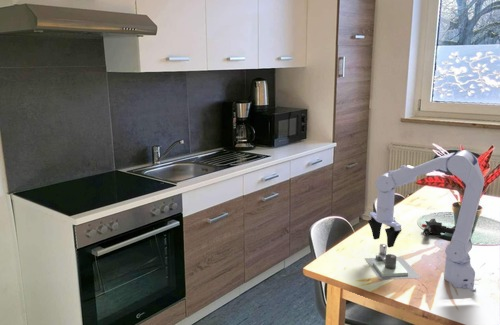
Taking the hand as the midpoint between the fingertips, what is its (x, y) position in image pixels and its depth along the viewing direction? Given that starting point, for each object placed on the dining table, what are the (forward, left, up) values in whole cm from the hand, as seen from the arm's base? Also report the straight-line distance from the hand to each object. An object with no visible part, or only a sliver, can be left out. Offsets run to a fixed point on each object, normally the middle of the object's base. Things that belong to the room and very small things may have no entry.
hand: (383, 242), depth 158 cm
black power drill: (+24, -34, -9) cm, 43 cm away
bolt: (-1, 0, -5) cm, 6 cm away
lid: (-8, 0, -7) cm, 10 cm away
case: (-6, -1, -8) cm, 10 cm away
